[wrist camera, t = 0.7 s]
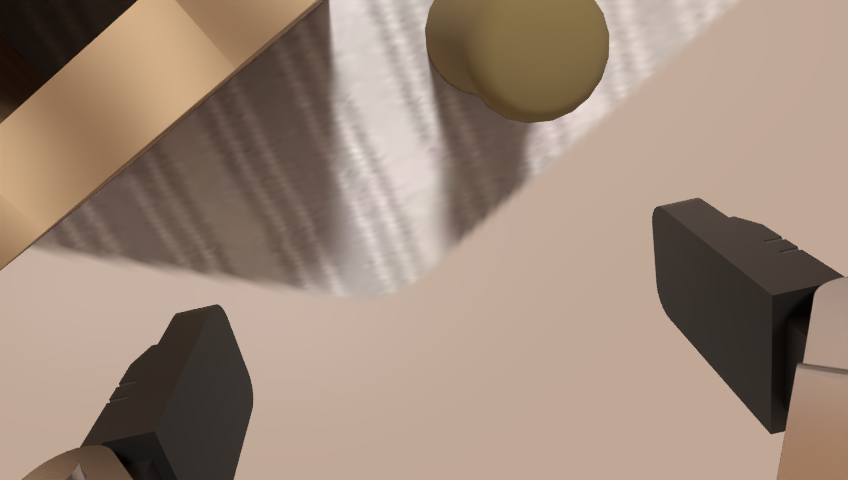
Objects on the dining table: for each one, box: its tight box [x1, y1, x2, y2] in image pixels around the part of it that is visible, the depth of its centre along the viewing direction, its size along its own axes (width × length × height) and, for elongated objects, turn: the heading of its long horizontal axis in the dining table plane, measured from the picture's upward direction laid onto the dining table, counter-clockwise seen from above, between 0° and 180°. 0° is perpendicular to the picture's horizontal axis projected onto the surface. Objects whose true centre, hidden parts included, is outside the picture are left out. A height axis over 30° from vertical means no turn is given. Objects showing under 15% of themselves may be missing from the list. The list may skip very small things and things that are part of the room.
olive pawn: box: [425, 0, 609, 123], centre depth 27 cm, size 6×6×11 cm
